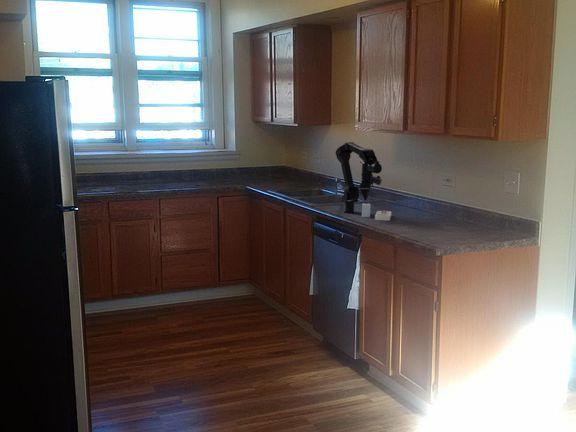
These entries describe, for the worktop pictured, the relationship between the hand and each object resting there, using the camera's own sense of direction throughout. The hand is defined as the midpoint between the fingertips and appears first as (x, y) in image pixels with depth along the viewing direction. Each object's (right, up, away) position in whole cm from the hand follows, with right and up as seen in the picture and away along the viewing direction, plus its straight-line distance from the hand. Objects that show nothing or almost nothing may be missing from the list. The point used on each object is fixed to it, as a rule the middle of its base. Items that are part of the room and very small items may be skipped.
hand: (366, 199), depth 369 cm
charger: (0, -10, +2) cm, 10 cm away
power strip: (+9, -11, -3) cm, 14 cm away
